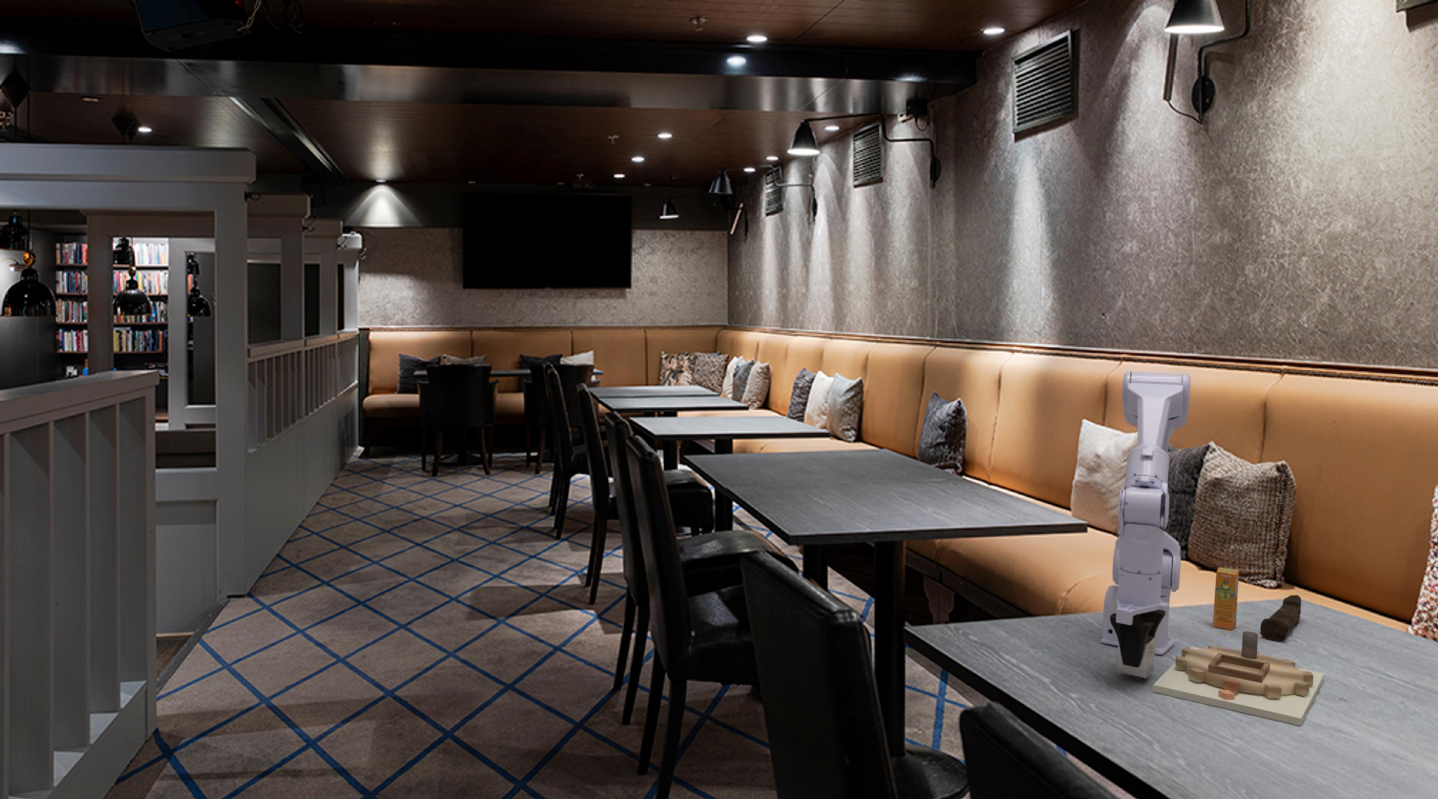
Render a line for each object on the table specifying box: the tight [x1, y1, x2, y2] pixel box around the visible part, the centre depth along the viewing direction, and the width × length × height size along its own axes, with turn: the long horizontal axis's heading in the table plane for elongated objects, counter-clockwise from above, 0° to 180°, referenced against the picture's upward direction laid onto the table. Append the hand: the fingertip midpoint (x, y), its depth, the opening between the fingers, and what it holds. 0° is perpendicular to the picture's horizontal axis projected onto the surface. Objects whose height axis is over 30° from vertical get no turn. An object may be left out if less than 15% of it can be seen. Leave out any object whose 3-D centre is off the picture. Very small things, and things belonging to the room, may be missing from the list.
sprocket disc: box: [1174, 630, 1313, 699], centre depth 140 cm, size 17×17×5 cm
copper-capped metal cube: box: [1116, 636, 1155, 679], centre depth 141 cm, size 4×4×5 cm
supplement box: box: [1212, 567, 1240, 631], centre depth 167 cm, size 3×3×10 cm
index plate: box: [1152, 646, 1326, 727], centre depth 139 cm, size 18×22×2 cm
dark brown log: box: [1259, 594, 1302, 643], centre depth 167 cm, size 19×4×5 cm, turn 137°
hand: (1135, 661), depth 141 cm, fingers closed on copper-capped metal cube, 4 cm apart
